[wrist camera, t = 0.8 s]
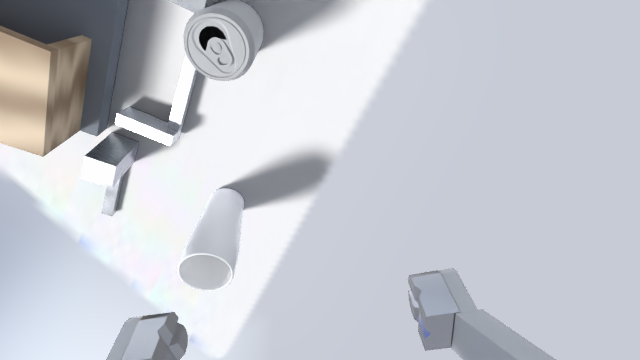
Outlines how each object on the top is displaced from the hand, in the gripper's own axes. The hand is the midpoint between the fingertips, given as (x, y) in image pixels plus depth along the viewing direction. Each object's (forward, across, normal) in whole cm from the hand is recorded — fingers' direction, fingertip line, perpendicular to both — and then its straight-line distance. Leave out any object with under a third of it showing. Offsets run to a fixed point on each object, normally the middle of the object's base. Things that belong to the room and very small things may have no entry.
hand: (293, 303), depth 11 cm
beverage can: (+36, +6, -5) cm, 37 cm away
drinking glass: (+36, +15, +19) cm, 43 cm away
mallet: (+36, +26, +7) cm, 45 cm away
